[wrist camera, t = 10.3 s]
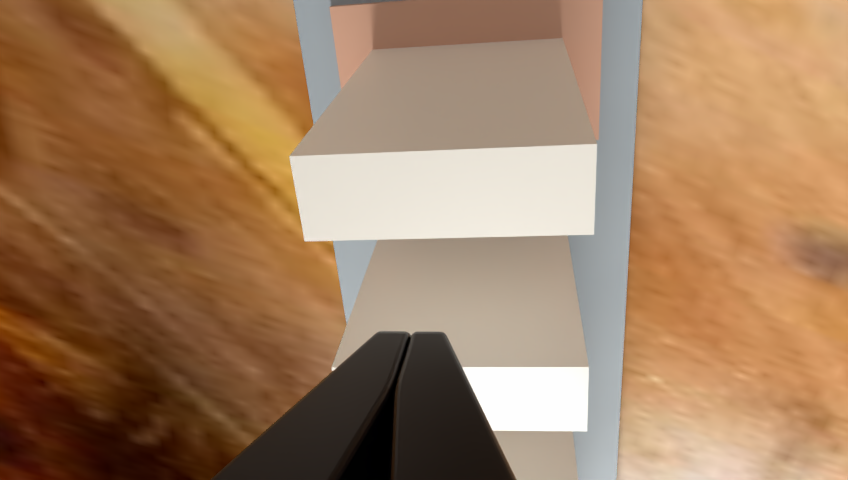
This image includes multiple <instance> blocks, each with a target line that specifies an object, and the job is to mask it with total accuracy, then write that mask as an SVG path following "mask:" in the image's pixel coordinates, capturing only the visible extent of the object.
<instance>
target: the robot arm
mask: <svg viewBox="0 0 848 480" xmlns="http://www.w3.org/2000/svg"><path fill="white" fill-rule="evenodd" d="M210 480H517V479H516V477H515V475H514V473H513V471H512V469H511V467H510V465H509V463H508V461H507V459H506V457H505V455H504V453H503V451H502V449H501V446H500V444H499V442H498V440H497V438H496V436H495V434H494V432H493V430H492V428H491V426H490V424H489V422H488V420H487V418H486V415H485V413H484V411H483V409H482V407H481V405H480V403H479V401H478V399H477V397H476V395H475V393H474V391H473V389H472V387H471V385H470V382H469V380H468V378H467V376H466V374H465V372H464V370H463V368H462V366H461V364H460V362H459V360H458V358H457V356H456V354H455V351H454V349H453V347H452V345H451V343H450V341H449V339H448V337H447V335H446V334H445V333H444V332H418V331H417V332H414V333H413V334H412V335H410V333H408V332H406V331H379V332H377V333H375V334H374V335H373V336H372V337H371V338H370V339H368V340H367V341H366V342H365V343H364V344H363V345H362V346H361V347H359V348H358V349H357V350H356V351H355V352H354V353H353V354H351V355H350V356H349V357H348V358H347V359H346V360H345V361H344V362H342V363H341V364H340V365H339V366H338V367H337V368H336V369H335V370H333V371H332V372H331V373H330V374H329V375H328V376H327V377H326V378H324V379H323V380H322V381H321V382H320V383H319V384H318V385H317V386H315V387H314V388H313V389H312V390H311V391H310V392H309V393H307V394H306V395H305V396H304V397H303V398H302V399H301V400H300V401H298V402H297V403H296V404H295V405H294V406H293V407H292V408H291V409H289V410H288V411H287V412H286V413H285V414H284V415H283V416H282V417H280V418H279V419H278V420H277V421H276V422H275V423H274V424H273V425H271V426H270V427H269V428H268V429H267V430H266V431H265V432H263V433H262V434H261V435H260V436H259V437H258V438H257V439H256V440H254V441H253V442H252V443H251V444H250V445H249V446H248V447H247V448H245V449H244V450H243V451H242V452H241V453H240V454H239V455H238V456H236V457H235V458H234V459H233V460H232V461H231V462H230V463H228V464H227V465H226V466H225V467H224V468H223V469H222V470H221V471H219V472H218V473H217V474H216V475H215V476H214V477H213V478H212V479H210Z"/></svg>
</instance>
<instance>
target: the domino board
mask: <svg viewBox="0 0 848 480" xmlns="http://www.w3.org/2000/svg"><path fill="white" fill-rule="evenodd" d="M293 2H294V8H295V14H296V20H297V26H298V32H299V38H300V44H301V50H302V57H303V63H304V69H305V75H306V81H307V87H308V93H309V99H310V105H311V111H312V117H313V123H314V124H315V123H316V121H317V120H318V119H319V118H320V116H321V115H322V114H323V112H324V111H325V110H326V109H327V107H328V106H329V105H330V103H331V102H332V101H333V100H334V98H335V97H336V96H337V94H338V93H339V92H340V91H341V89H342V88H343V87H344V85H345V84H346V83H347V82H348V80H349V79H350V78H351V77H352V75H353V74H354V73H355V71H356V70H357V69H358V68H359V66H360V65H361V64H362V62H363V61H364V60H365V59H366V57H367V56H368V55H369V53H370V52H371V51H372V50H373V49H389V48H405V47H422V46H438V45H455V44H471V43H488V42H504V41H521V40H537V39H554V38H563V41H564V44H565V47H566V50H567V53H568V56H569V59H570V62H571V65H572V68H573V71H574V74H575V77H576V80H577V84H578V87H579V90H580V93H581V96H582V99H583V102H584V105H585V108H586V111H587V114H588V117H589V120H590V123H591V127H592V130H593V133H594V136H595V139H596V142H597V163H596V193H595V223H594V235H568V241H569V247H570V253H571V259H572V265H573V272H574V278H575V284H576V290H577V296H578V303H579V309H580V315H581V321H582V327H583V334H584V340H585V346H586V352H587V358H588V365H589V382H588V418H587V431H573V438H574V447H575V456H576V465H577V473H578V480H616V476H617V458H618V440H619V421H620V403H621V385H622V367H623V349H624V330H625V312H626V294H627V276H628V258H629V239H630V221H631V203H632V185H633V167H634V148H635V130H636V112H637V94H638V76H639V57H640V39H641V21H642V3H643V0H293ZM376 243H377V240H344V241H333V245H334V251H335V257H336V263H337V269H338V275H339V281H340V287H341V293H342V299H343V305H344V311H345V317H346V323H348V320H349V318H350V315H351V312H352V309H353V307H354V304H355V301H356V298H357V295H358V293H359V290H360V287H361V284H362V282H363V279H364V276H365V273H366V270H367V268H368V265H369V262H370V259H371V257H372V254H373V251H374V248H375V245H376Z"/></svg>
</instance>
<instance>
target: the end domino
mask: <svg viewBox="0 0 848 480" xmlns="http://www.w3.org/2000/svg"><path fill="white" fill-rule="evenodd" d="M289 157H290V163H291V168H292V174H293V179H294V185H295V190H296V196H297V201H298V207H299V212H300V218H301V224H302V229H303V235H304V240H305V241H344V240H387V239H430V238H473V237H516V236H560V235H594V223H595V193H596V163H597V142H596V139H595V136H594V133H593V130H592V127H591V123H590V120H589V117H588V114H587V111H586V108H585V105H584V102H583V99H582V96H581V93H580V90H579V87H578V84H577V80H576V77H575V74H574V71H573V68H572V65H571V62H570V59H569V56H568V53H567V50H566V47H565V44H564V41H563V38H554V39H537V40H521V41H504V42H488V43H471V44H455V45H438V46H422V47H405V48H389V49H373V50H372V51H371V52H370V53H369V55H368V56H367V57H366V59H365V60H364V61H363V62H362V64H361V65H360V66H359V68H358V69H357V70H356V71H355V73H354V74H353V75H352V77H351V78H350V79H349V80H348V82H347V83H346V84H345V85H344V87H343V88H342V89H341V91H340V92H339V93H338V94H337V96H336V97H335V98H334V100H333V101H332V102H331V103H330V105H329V106H328V107H327V109H326V110H325V111H324V112H323V114H322V115H321V116H320V118H319V119H318V120H317V121H316V123H315V124H314V125H313V127H312V128H311V129H310V130H309V132H308V133H307V134H306V136H305V137H304V138H303V139H302V141H301V142H300V143H299V145H298V146H297V147H296V148H295V150H294V151H293V152H292V153H291V155H290V156H289Z"/></svg>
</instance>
